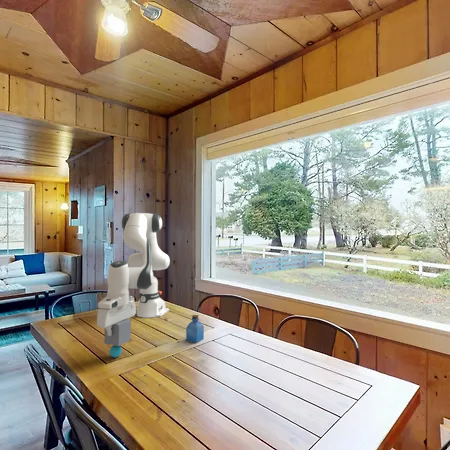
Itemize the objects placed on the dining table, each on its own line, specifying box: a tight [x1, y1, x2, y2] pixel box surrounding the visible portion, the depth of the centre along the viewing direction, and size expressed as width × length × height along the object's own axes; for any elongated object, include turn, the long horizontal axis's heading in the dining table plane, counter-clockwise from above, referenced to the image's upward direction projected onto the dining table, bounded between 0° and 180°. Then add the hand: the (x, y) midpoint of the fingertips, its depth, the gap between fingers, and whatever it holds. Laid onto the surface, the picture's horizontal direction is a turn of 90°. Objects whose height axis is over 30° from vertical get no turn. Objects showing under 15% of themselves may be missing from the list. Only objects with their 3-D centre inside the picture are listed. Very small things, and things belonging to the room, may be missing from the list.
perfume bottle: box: [185, 314, 205, 344], centre depth 151 cm, size 6×6×12 cm
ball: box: [109, 345, 123, 358], centre depth 130 cm, size 5×5×5 cm
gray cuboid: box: [103, 319, 132, 347], centre depth 131 cm, size 8×8×9 cm
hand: (117, 331), depth 131 cm, fingers closed on gray cuboid, 8 cm apart
